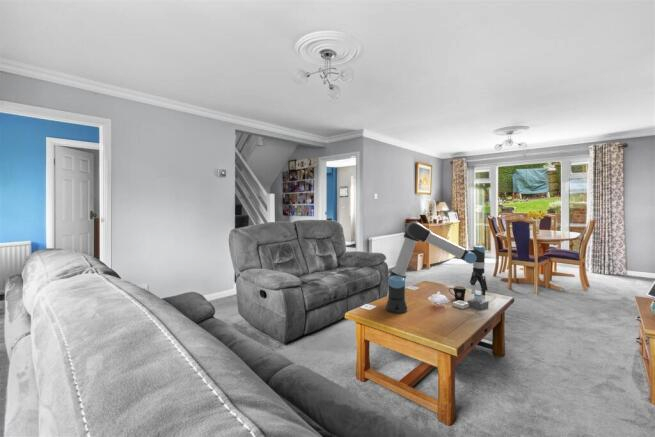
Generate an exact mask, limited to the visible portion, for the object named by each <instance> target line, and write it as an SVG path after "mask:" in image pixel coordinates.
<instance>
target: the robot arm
mask: <svg viewBox="0 0 655 437" xmlns="http://www.w3.org/2000/svg"><path fill="white" fill-rule="evenodd" d="M403 238H404V240H403V242H402V245H401V249H400V252H399V255H398V257H397V260H396V263H395V265H394V268H393V269H391V271H390V274H389V276H388V277H387V288H388V289H387V290H388V291H387V292H388V295H387V296H388V298H387V302H386V304H385V310H386V311H387V312H389V313H392V314H406V313H407V312H408V306H407V302H406V278H407V274H406V272H407V269H408V267H409V263H410V260H411V258H412V255H413V253H414V250H415V246H416V244H417V243H419V242H420V241H421V242H422V243H428V244H429V245H431V246H434V247H436V248H437V249H440V250H442V251H444V252H446V253H449V254H451V255H452V256H454V257H455V258H456V260H462V261H464V262H465V263H468V264H469V265H470V264H471V265H472V272H471V276H470V281H469V284H470V285H471V289H470V290H471V292H470V293H471V295H474V294H475V293H476V283H477V282H478V283H479V286H480V294H481V300H486V291H488V289H489V288H488V286H487V281H486V276H485V275H484V274H485V264H486V263H485V262H486V261H485V258H486V255H485V254H486V251H485V250H486V247H485V246H483V245H474V246H472V248H464V247H462V246H460V245H458V244H456V243H454V242H452V241H450V240H448V239H445V238H444V237H443V236H440V235H438V234H435V233H433V232H432V231H431V230H430V229H428V228H427V227H425V226H424V225H423V224H421V223H420V222H419V221H415V220H412V221H410V222H408V223H407V224H406V226H405V231H404V234H403Z"/></svg>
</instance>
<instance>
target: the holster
mask: <svg viewBox="0 0 655 437" xmlns="http://www.w3.org/2000/svg"><path fill="white" fill-rule="evenodd" d="M452 307H454V308H458V309H461V310H464V309H466V308H467V309H468V308H469V307H470V306H469V303H468V301H465V300H456V301H453V302H452Z"/></svg>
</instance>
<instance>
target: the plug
mask: <svg viewBox="0 0 655 437" xmlns="http://www.w3.org/2000/svg"><path fill="white" fill-rule="evenodd" d="M473 296H474V297H473V298H474V301H477V302H481V301H482V300H481V293H480V292H479V293H478V292H475V294H473Z"/></svg>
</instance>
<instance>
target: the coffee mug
mask: <svg viewBox="0 0 655 437" xmlns="http://www.w3.org/2000/svg"><path fill="white" fill-rule="evenodd" d="M466 289H467V288H466V287H465V286H462V285H454V286H453V287H450V288H449V289H448V293H450V294H451V295H452V296H454V300H456V301H458V300H460V301H465V296H466ZM451 290H453V291H454V292H453V293H454V294H453V293H452V292H451Z"/></svg>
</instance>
